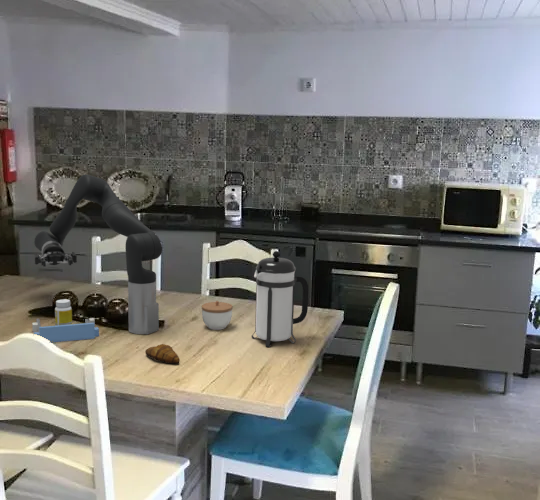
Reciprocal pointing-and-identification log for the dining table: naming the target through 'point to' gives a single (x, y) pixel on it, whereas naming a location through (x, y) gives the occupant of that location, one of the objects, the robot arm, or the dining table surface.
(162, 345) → the croissant
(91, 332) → the blue pegged rail
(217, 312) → the lidded jar
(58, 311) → the supplement bottle
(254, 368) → the dining table surface
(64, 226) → the robot arm
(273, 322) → the coffee press
